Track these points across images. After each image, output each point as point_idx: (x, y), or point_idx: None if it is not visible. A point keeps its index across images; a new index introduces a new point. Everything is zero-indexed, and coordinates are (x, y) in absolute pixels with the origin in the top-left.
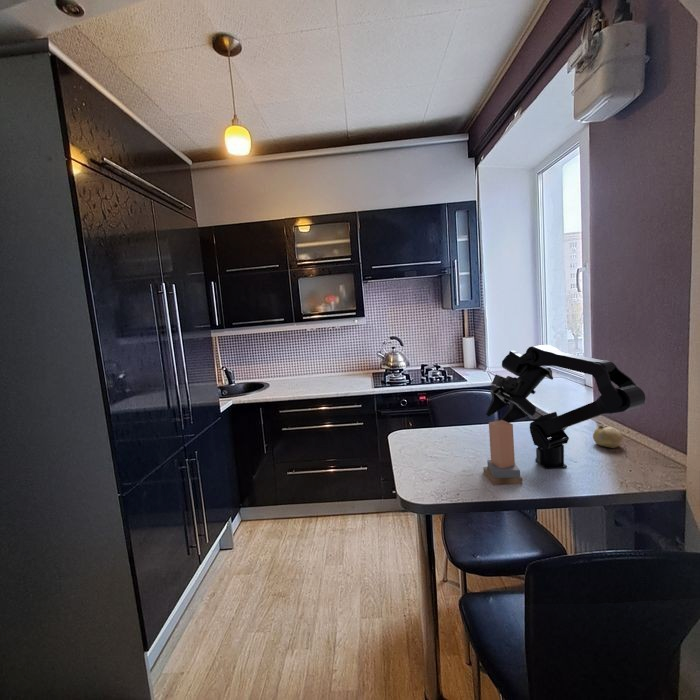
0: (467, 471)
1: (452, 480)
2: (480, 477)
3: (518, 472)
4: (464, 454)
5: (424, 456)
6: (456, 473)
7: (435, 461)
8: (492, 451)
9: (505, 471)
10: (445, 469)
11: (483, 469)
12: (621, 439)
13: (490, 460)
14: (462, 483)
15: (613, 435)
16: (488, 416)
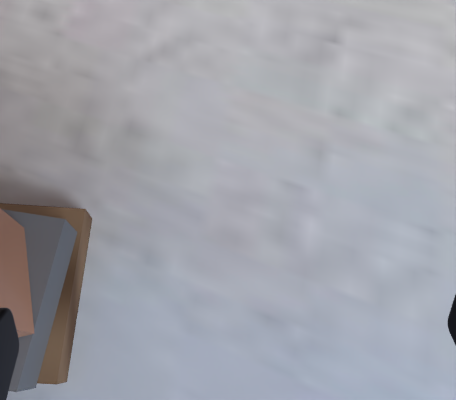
0: (123, 144)
1: (49, 52)
2: (38, 181)
3: None
4: (340, 202)
5: (336, 13)
6: (115, 90)
7: (270, 42)
8: None
9: None
10: (170, 58)
11: (87, 213)
12: None
13: (51, 234)
14: (5, 82)
15: None
16: (449, 326)
